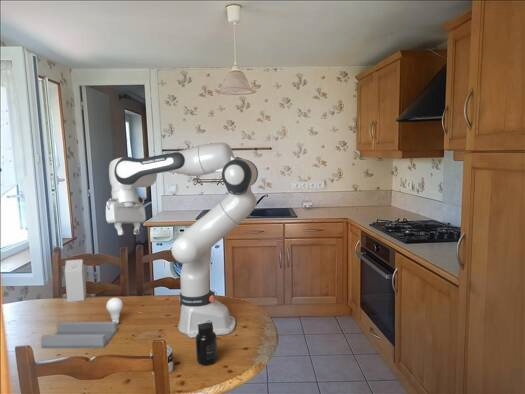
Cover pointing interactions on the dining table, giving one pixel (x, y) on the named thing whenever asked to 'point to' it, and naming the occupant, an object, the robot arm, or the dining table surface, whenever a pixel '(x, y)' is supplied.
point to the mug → (170, 358)
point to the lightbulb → (114, 308)
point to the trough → (80, 335)
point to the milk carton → (75, 280)
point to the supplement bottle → (206, 344)
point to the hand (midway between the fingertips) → (129, 234)
